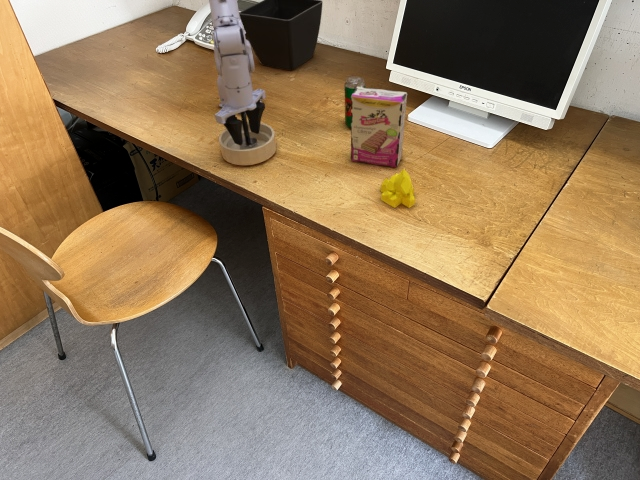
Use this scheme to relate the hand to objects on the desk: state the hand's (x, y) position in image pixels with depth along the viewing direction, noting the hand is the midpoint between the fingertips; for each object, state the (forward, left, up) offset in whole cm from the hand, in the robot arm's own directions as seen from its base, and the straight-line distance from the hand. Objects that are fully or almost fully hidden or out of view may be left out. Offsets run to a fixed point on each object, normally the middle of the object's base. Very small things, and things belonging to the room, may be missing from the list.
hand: (247, 137), depth 113 cm
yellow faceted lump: (+39, +3, -4) cm, 39 cm away
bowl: (0, 0, -4) cm, 4 cm away
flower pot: (-27, +47, -4) cm, 55 cm away
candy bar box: (+28, +13, -4) cm, 31 cm away
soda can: (+15, +24, -4) cm, 29 cm away
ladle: (0, 0, -3) cm, 3 cm away
